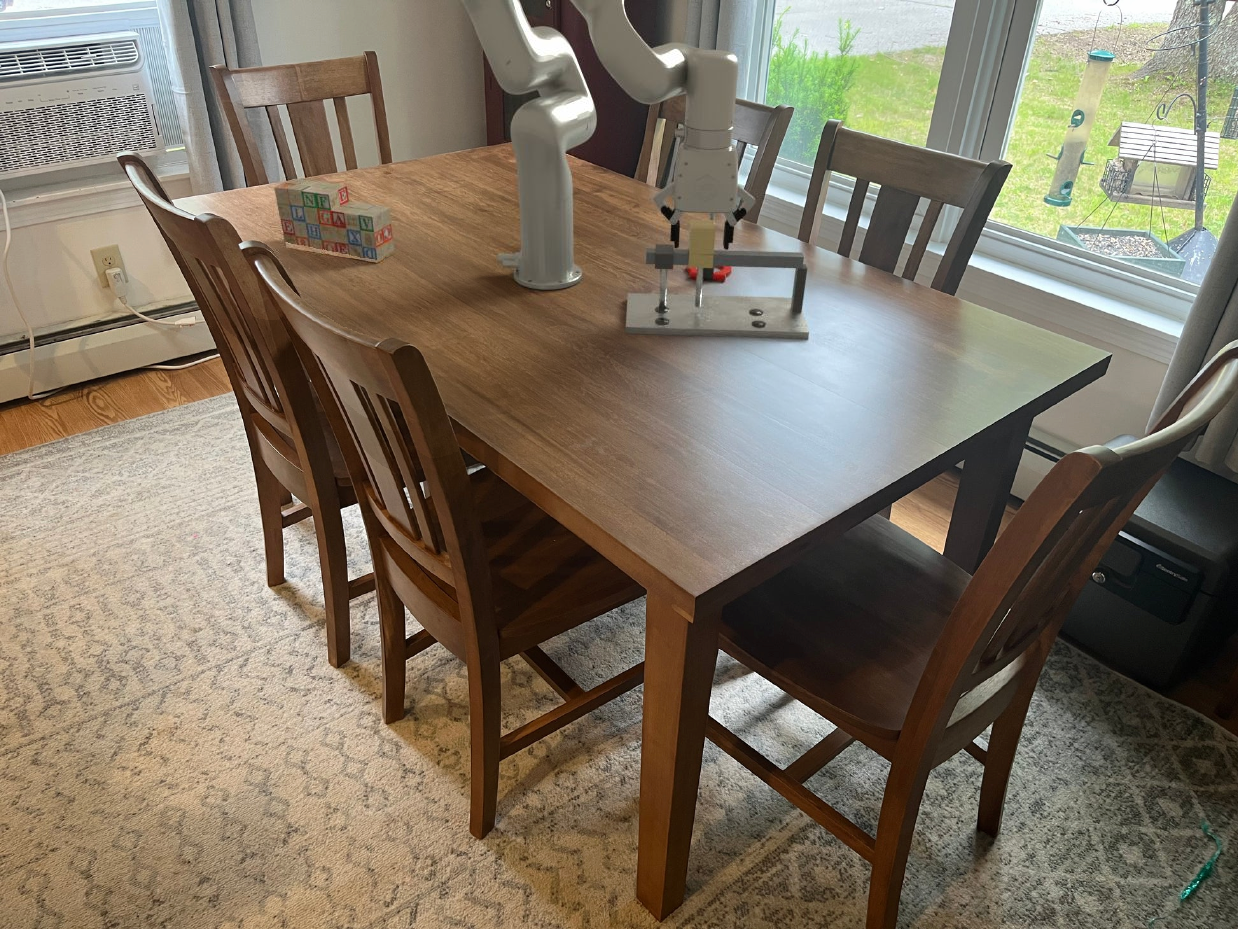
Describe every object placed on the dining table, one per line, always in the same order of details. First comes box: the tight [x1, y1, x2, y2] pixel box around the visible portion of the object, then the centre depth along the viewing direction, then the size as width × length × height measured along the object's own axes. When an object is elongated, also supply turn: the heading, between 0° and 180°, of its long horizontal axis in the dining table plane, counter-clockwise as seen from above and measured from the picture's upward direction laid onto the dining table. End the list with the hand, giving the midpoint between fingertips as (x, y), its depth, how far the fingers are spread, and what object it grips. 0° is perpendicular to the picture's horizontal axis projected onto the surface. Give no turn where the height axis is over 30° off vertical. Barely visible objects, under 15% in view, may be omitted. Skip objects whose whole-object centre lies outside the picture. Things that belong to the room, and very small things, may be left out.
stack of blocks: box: [273, 178, 395, 260], centre depth 183 cm, size 21×6×12 cm, turn 69°
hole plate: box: [625, 292, 810, 340], centre depth 162 cm, size 30×14×1 cm, turn 88°
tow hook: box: [686, 213, 733, 282], centre depth 177 cm, size 8×13×9 cm
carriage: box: [687, 219, 716, 307], centre depth 160 cm, size 4×4×14 cm
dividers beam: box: [645, 243, 808, 312], centre depth 161 cm, size 27×5×10 cm, turn 88°
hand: (701, 245), depth 158 cm, fingers open, 7 cm apart
